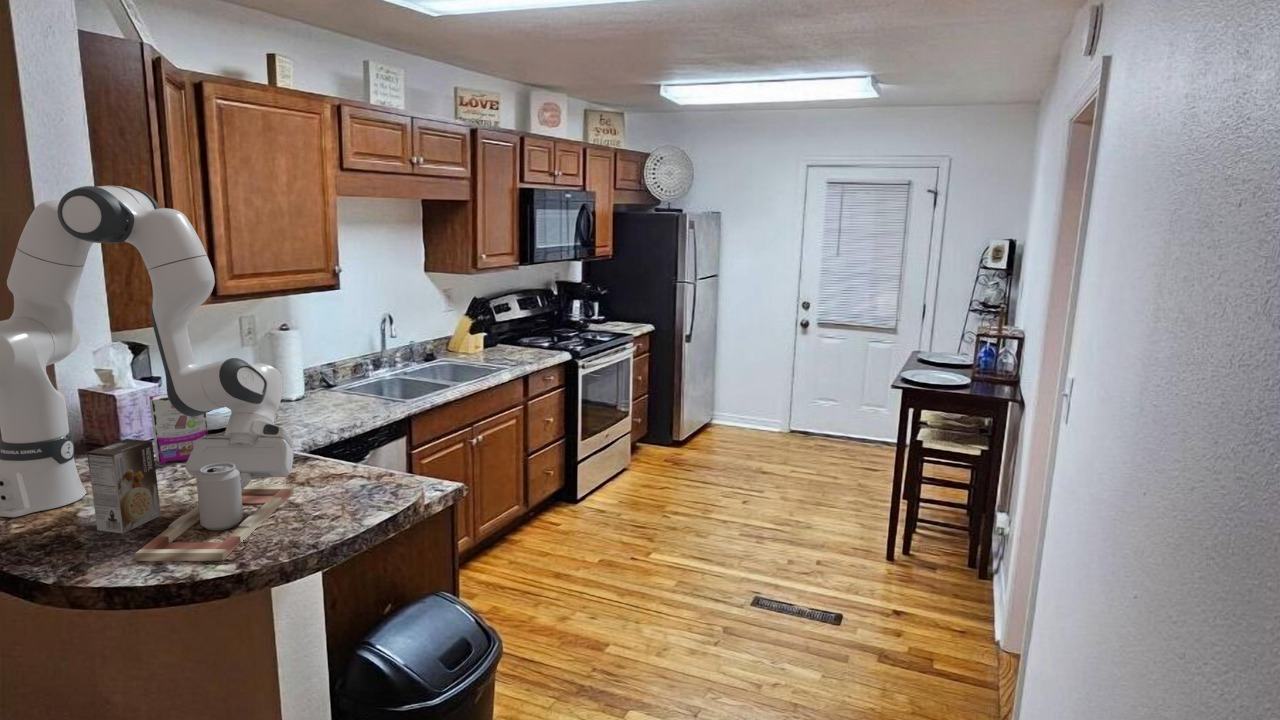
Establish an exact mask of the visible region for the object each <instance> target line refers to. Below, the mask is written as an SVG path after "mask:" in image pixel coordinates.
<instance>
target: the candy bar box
mask: <svg viewBox="0 0 1280 720" xmlns="http://www.w3.org/2000/svg"><path fill="white" fill-rule="evenodd" d="M148 398H149V399H148V400H149V407H150V414H151V415H150V417H151V424H152V431H153V432H152V435H153V441H154V448H155V450H154V451H155V457H156V460H158V461H157V462H158V464H159V465H165V464H171V463H177V462H181V461H182V462H183V461H188V459H189V456H190V454H191V452H192V450H193V447H194V444H195V441H196V440H197V439H199V438H201V437H204V435H209V431H208V424H207V423H208V422H207V421H208V420H207V413H205V414H202V415H199V416H195V417H192V416H187V415H184V414H182V413H180V412H179V411H178V410H176V409H175V408H174V407H173V406H172V404H171V403H170V401H169V399H168V395H167V393H165V394H156V395H149V397H148Z"/></svg>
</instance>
